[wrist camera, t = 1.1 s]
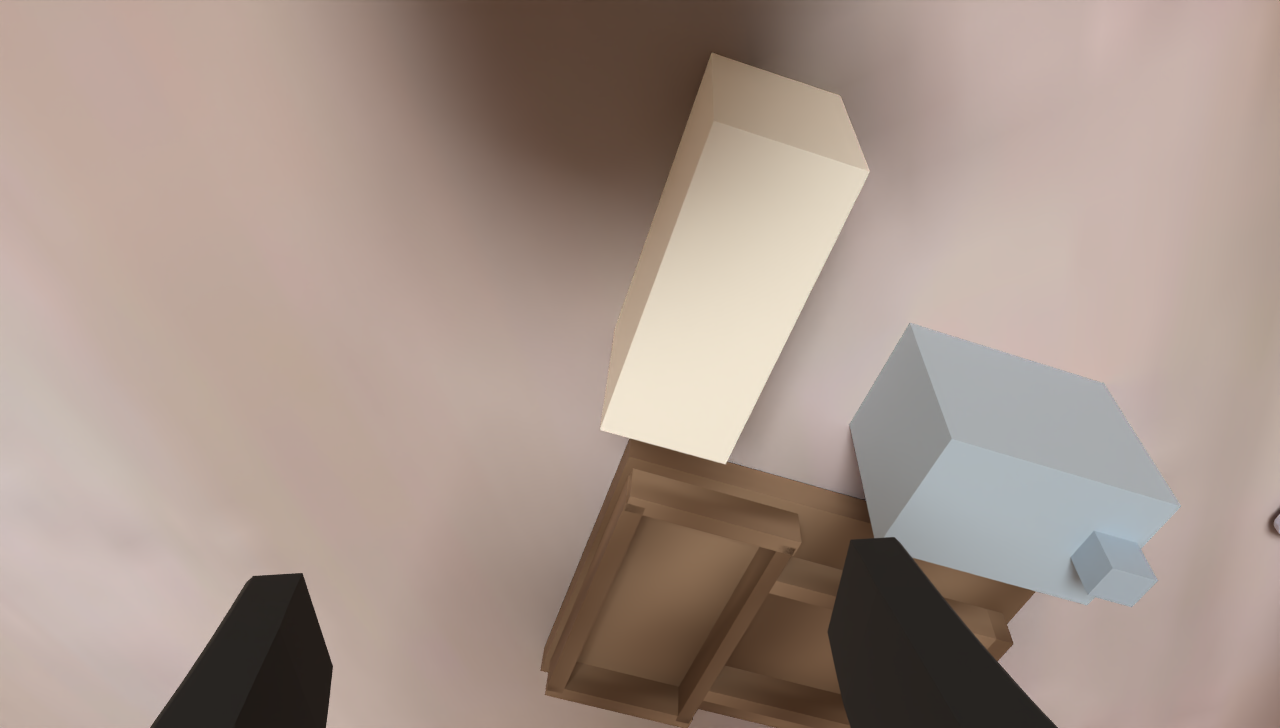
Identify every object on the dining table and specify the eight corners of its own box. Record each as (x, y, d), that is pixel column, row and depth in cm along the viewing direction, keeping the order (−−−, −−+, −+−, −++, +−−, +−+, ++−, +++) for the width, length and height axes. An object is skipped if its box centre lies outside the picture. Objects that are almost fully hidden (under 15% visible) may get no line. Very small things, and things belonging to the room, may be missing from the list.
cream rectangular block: (839, 94, 21) (870, 171, 17) (721, 357, 25) (725, 464, 22) (711, 50, 20) (714, 120, 17) (615, 326, 25) (599, 429, 21)
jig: (1041, 550, 29) (1064, 604, 27) (886, 731, 35) (896, 785, 33) (631, 434, 27) (626, 484, 25) (544, 647, 33) (535, 699, 31)
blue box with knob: (1102, 381, 25) (1204, 543, 20) (1028, 475, 27) (1104, 643, 22) (909, 321, 24) (964, 474, 19) (849, 423, 26) (884, 584, 21)
